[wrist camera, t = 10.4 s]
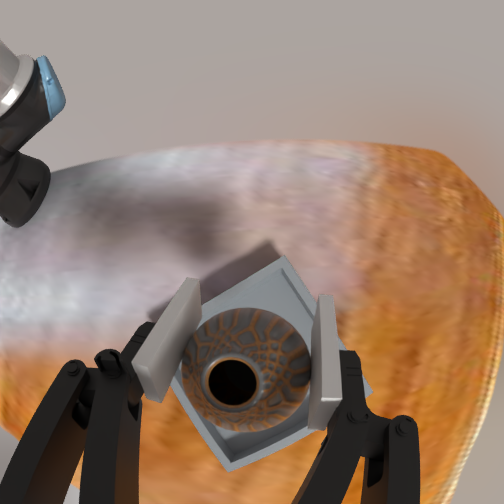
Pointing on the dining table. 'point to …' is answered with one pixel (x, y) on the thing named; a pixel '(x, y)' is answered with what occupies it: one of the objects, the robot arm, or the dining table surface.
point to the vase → (246, 369)
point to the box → (301, 317)
